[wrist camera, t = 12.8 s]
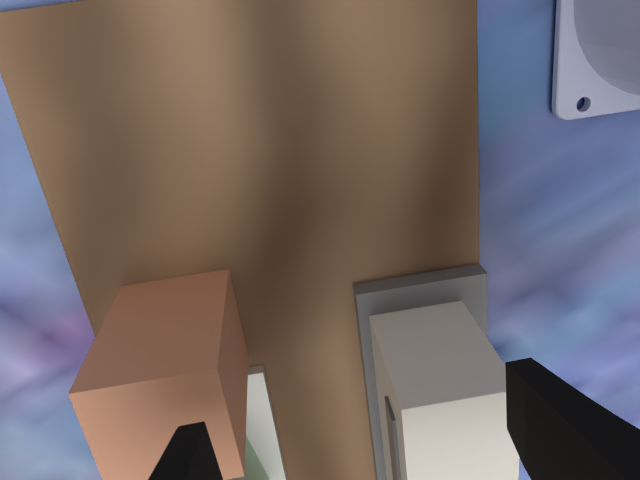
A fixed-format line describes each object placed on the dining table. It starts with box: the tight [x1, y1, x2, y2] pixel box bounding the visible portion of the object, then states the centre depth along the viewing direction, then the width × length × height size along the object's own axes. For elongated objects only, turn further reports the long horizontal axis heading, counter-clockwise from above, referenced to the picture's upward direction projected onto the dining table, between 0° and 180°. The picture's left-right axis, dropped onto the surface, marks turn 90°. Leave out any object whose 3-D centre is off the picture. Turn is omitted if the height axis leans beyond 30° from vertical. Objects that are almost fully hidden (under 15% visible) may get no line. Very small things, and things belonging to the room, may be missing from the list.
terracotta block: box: [68, 269, 248, 480], centre depth 18 cm, size 4×4×6 cm
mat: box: [246, 365, 287, 480], centre depth 24 cm, size 6×9×1 cm, turn 7°
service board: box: [0, 0, 479, 480], centre depth 22 cm, size 15×23×1 cm, turn 7°
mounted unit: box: [353, 264, 519, 480], centre depth 21 cm, size 5×12×6 cm, turn 8°
